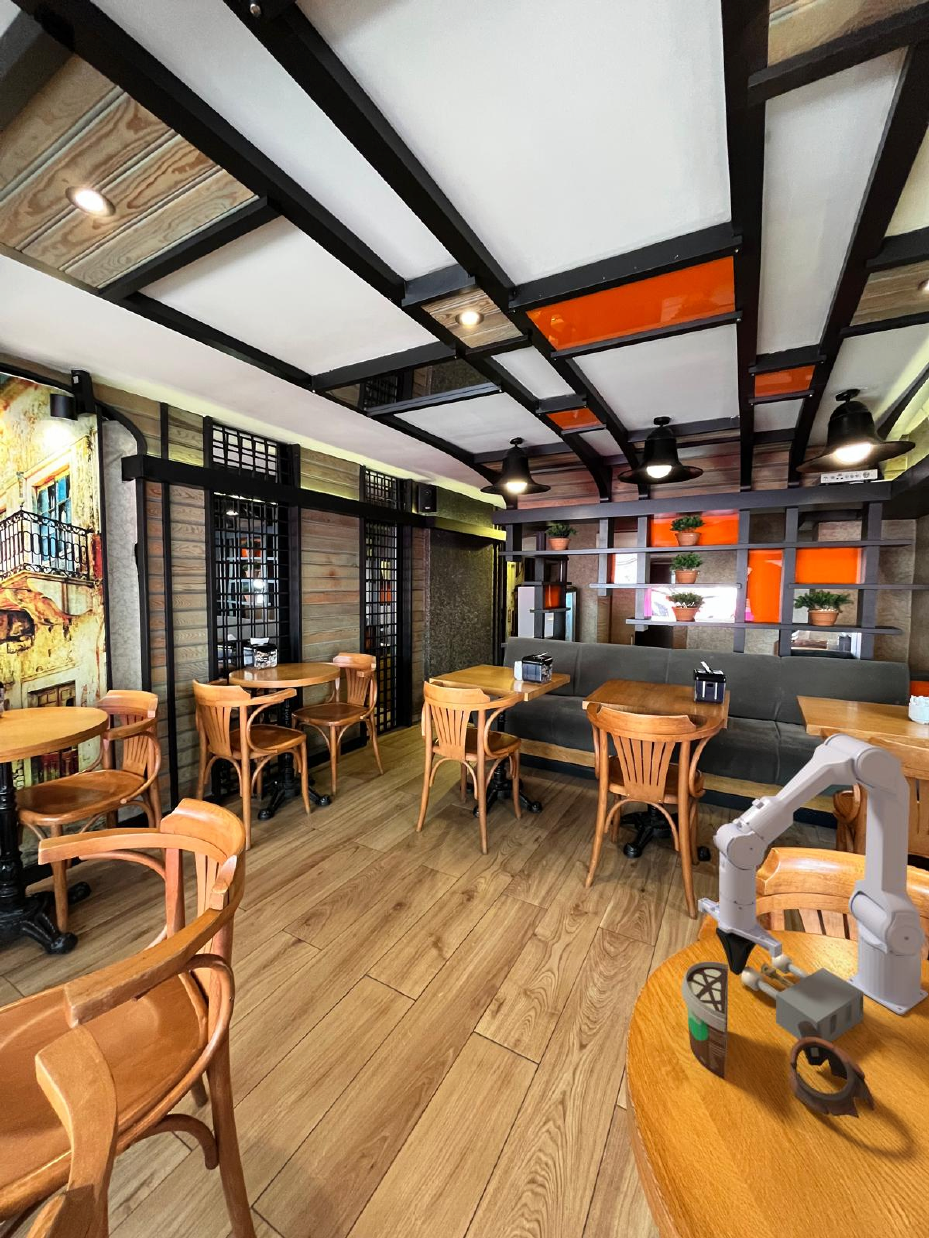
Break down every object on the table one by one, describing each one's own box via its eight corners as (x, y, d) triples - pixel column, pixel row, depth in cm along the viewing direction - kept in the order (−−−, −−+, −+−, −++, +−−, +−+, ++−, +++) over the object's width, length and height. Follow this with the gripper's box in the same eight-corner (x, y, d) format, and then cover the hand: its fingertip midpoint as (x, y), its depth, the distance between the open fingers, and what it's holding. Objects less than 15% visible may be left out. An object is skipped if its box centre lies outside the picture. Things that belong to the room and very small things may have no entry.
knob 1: (751, 979, 87) (751, 963, 87) (795, 1009, 81) (795, 992, 80) (741, 985, 86) (741, 969, 86) (784, 1016, 79) (784, 998, 79)
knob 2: (781, 963, 91) (781, 948, 91) (824, 991, 84) (824, 975, 84) (771, 968, 90) (771, 953, 89) (815, 997, 83) (815, 980, 83)
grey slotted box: (822, 993, 85) (822, 967, 85) (863, 1019, 80) (863, 991, 80) (776, 1022, 80) (776, 994, 80) (816, 1052, 74) (816, 1022, 74)
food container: (685, 1008, 83) (686, 949, 82) (727, 1023, 80) (728, 962, 79) (676, 1068, 72) (676, 1000, 72) (724, 1088, 69) (724, 1017, 69)
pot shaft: (767, 971, 88) (767, 961, 88) (808, 998, 82) (808, 987, 82) (760, 974, 88) (760, 964, 87) (802, 1002, 81) (802, 991, 81)
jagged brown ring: (900, 1137, 63) (881, 1096, 61) (825, 1156, 65) (804, 1116, 63) (836, 1034, 74) (819, 997, 73) (774, 1053, 76) (755, 1016, 74)
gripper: (686, 881, 92) (686, 952, 93) (763, 925, 79) (763, 1008, 80) (712, 871, 96) (712, 941, 96) (790, 913, 83) (789, 993, 83)
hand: (737, 971), depth 88 cm, fingers closed
